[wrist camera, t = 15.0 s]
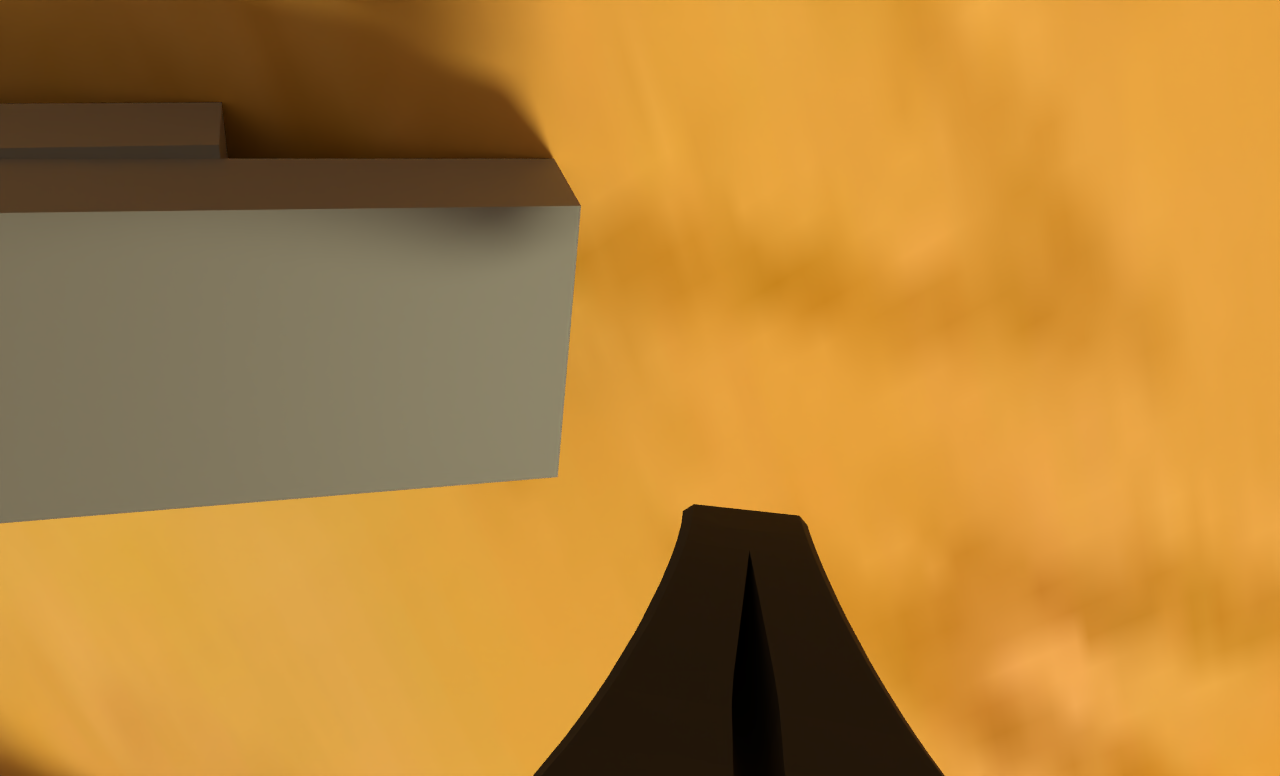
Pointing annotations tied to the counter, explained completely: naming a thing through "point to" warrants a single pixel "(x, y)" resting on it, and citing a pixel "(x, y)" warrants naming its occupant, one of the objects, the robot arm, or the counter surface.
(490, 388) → the domino
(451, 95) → the counter surface
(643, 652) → the robot arm
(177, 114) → the domino
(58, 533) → the counter surface
